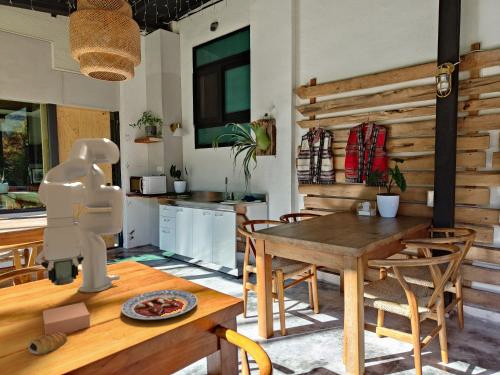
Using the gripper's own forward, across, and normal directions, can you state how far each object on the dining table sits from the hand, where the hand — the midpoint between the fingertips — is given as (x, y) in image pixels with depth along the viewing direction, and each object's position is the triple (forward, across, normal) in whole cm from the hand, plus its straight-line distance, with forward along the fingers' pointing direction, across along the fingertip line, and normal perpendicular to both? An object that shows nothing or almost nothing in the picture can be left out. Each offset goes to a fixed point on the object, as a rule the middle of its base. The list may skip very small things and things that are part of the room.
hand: (63, 279), depth 111 cm
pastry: (+15, +6, +12) cm, 21 cm away
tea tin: (+1, 0, 0) cm, 1 cm away
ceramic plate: (+15, -29, +5) cm, 33 cm away
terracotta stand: (+15, 0, 0) cm, 15 cm away
